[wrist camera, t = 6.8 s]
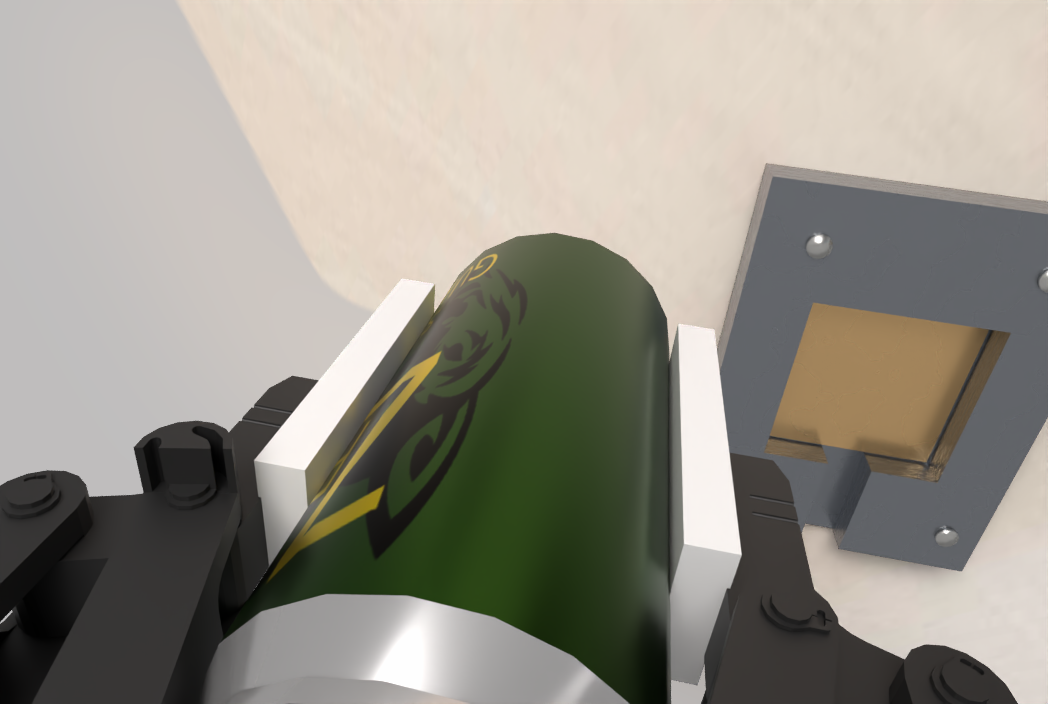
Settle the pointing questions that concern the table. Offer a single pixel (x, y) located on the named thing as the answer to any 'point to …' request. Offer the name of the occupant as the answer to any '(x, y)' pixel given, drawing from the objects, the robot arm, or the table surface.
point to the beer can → (487, 509)
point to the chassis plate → (889, 355)
